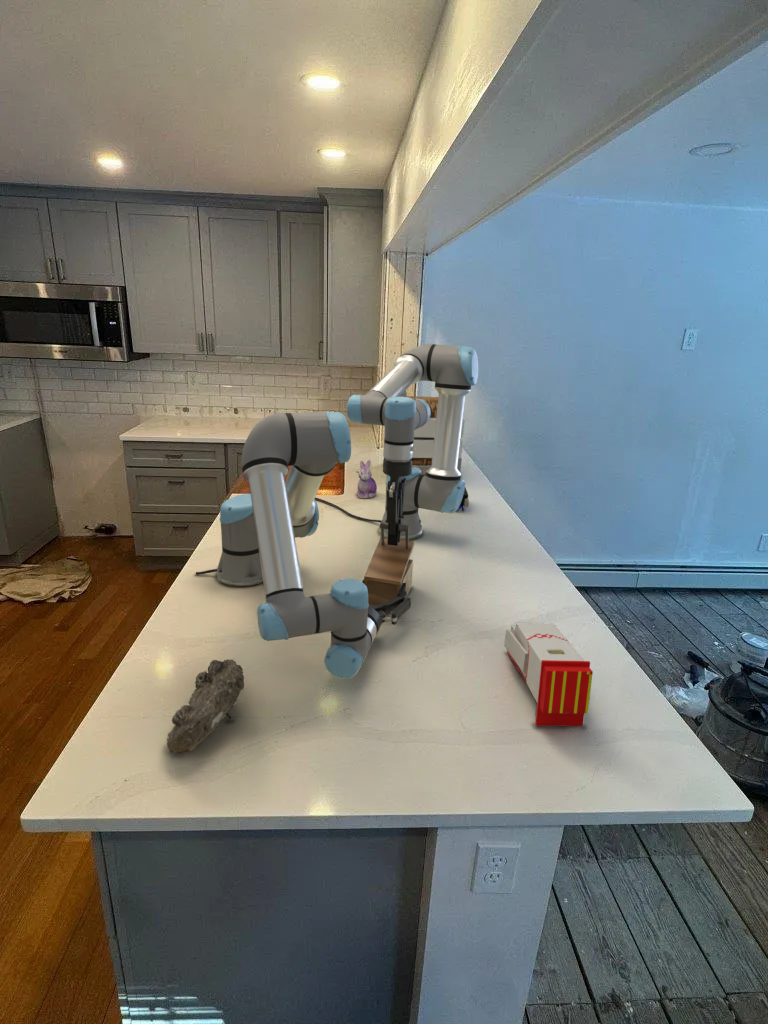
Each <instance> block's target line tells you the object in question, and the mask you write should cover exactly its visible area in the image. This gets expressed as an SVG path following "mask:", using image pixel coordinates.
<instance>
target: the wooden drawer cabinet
mask: <svg viewBox="0 0 768 1024" xmlns="http://www.w3.org/2000/svg"><path fill="white" fill-rule="evenodd" d="M407 394H408V393H407V390H406V391H405V392H404V393H403V394H402V395H401V396H400V397H408V398H412V399H421V400H424V401H425V402H426V403H427V404H428V405H429V407H430V411H431V415H430V418H429V420H428V422H427V423H426V424H424V426H422V427H420V428H418V429H416V430H414V442H413V447H414V448H415V451H413V456H412V458H411V460H412V467H417V466H418V467H431V465H432V456H433V446H434V436H435V426H436V416H437V406H438V396H415V395H414V396H413V395H412V396H411V395H407ZM464 429H465V419H464V418H463V420H462V429H461V438H460V447H459V456H458V464H457V469H458V471H459V472H460V473H461V472H462V461H463V460H462V453H463V442H464V441H463V440H462V439H463V438H464V431H465V430H464ZM384 459H385V458H384V457H383V460H384ZM461 474H462V473H461Z"/></svg>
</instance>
